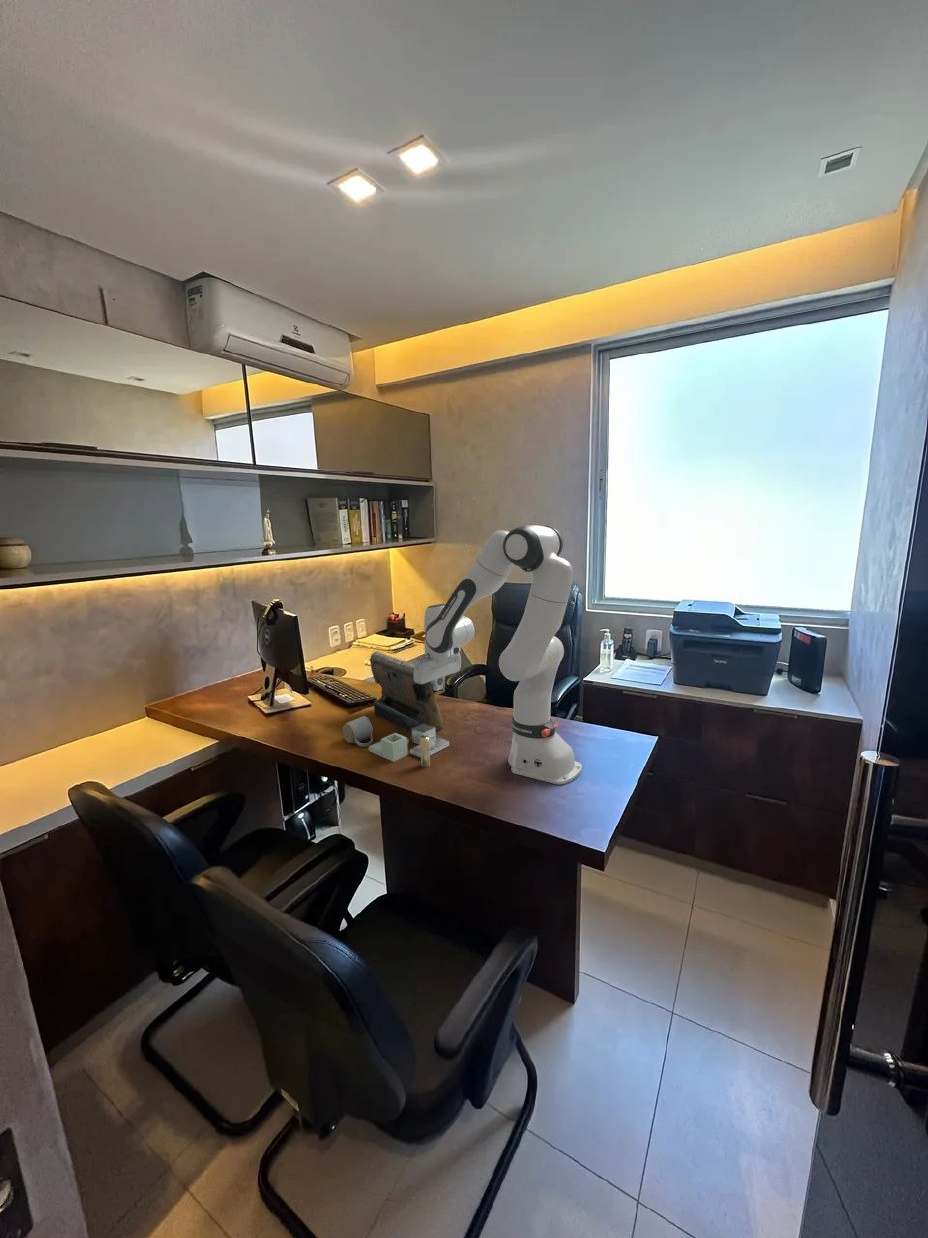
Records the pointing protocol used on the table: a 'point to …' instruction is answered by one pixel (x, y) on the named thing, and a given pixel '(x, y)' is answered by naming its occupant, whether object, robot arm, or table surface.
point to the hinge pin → (425, 751)
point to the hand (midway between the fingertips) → (438, 689)
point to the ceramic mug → (358, 731)
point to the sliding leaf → (435, 742)
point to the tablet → (403, 694)
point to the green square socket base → (391, 747)
